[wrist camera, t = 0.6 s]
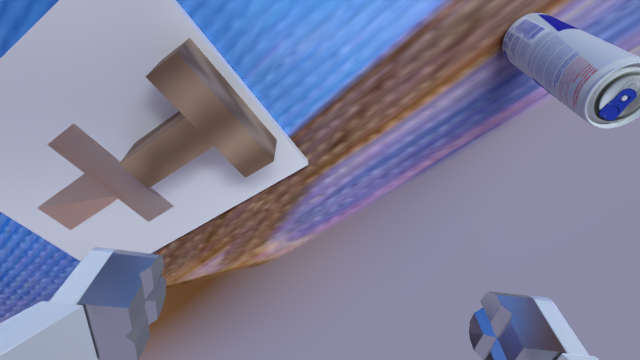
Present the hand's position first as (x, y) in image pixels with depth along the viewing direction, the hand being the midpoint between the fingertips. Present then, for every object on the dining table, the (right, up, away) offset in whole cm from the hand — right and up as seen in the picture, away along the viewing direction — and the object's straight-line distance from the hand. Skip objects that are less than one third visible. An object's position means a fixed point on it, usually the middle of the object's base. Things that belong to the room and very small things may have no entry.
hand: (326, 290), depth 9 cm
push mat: (-25, +6, +36) cm, 44 cm away
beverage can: (+21, +18, +29) cm, 39 cm away
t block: (-14, +9, +32) cm, 36 cm away
